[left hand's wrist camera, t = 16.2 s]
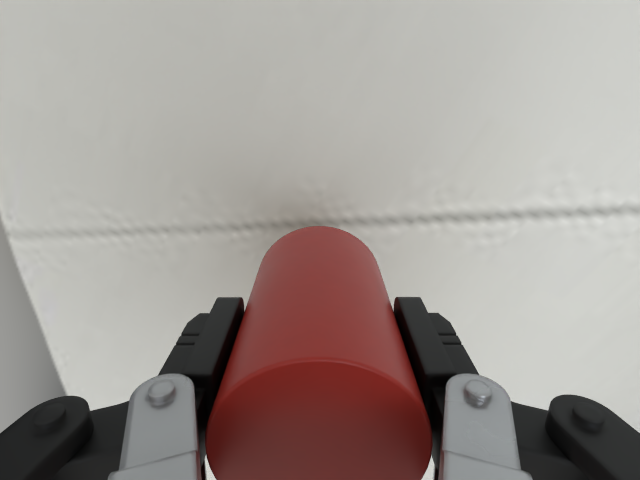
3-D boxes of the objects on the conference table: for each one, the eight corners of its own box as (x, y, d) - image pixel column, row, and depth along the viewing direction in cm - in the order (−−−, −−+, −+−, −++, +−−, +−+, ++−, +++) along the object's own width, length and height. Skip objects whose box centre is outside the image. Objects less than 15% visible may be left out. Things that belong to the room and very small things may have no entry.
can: (334, 353, 16) (346, 555, 9) (235, 297, 15) (163, 475, 8) (404, 268, 15) (482, 429, 8) (301, 200, 14) (282, 316, 7)
